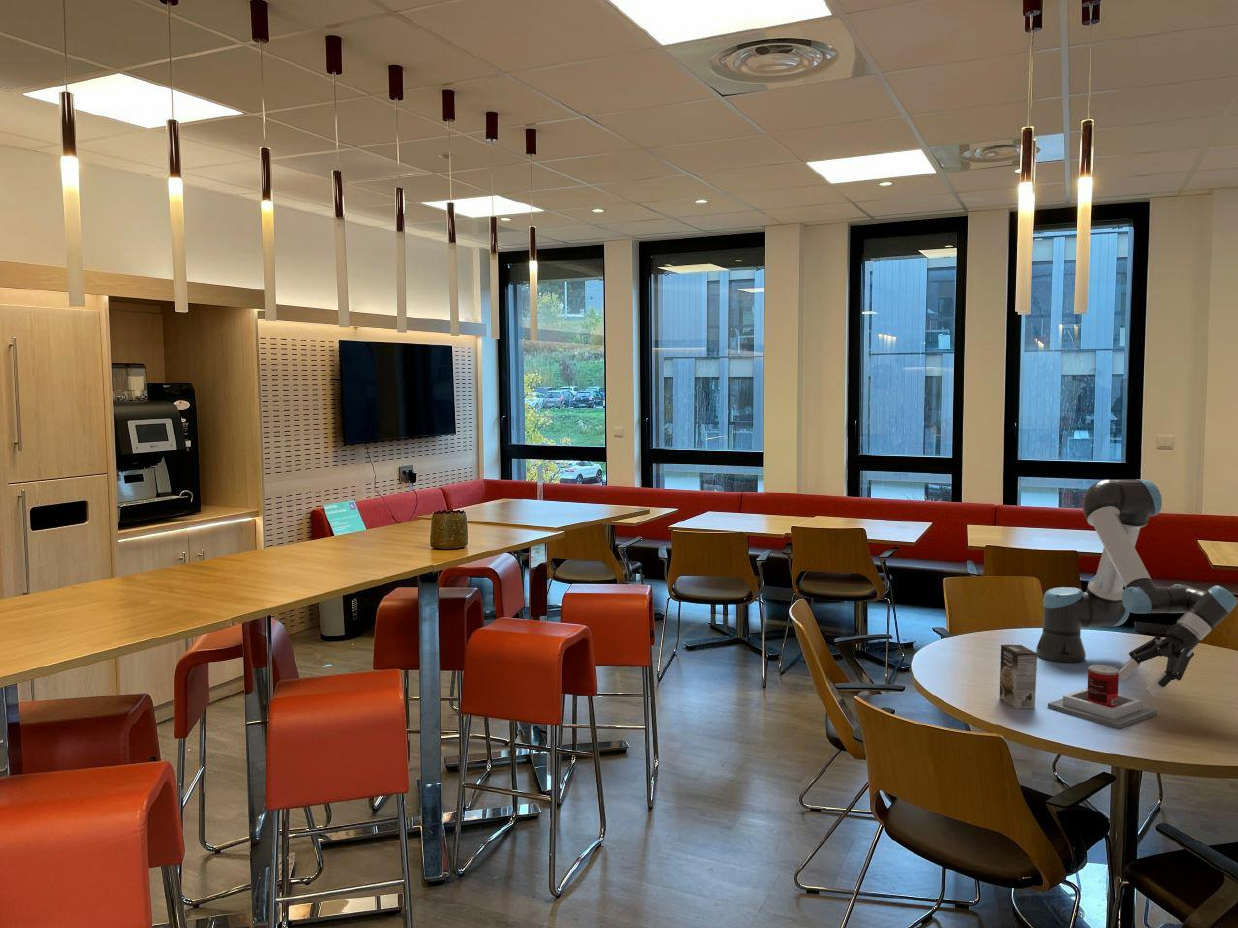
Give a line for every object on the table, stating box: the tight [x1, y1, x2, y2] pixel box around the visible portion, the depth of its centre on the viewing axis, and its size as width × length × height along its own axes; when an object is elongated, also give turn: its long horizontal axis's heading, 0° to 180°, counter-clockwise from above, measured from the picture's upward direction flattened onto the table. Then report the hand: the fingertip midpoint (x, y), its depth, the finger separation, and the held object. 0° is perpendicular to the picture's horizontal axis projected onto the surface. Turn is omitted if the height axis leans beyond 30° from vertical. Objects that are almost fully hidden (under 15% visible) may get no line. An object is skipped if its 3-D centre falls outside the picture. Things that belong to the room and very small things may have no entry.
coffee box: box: [999, 644, 1038, 709], centre depth 260 cm, size 9×6×16 cm
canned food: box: [1087, 664, 1120, 708], centre depth 254 cm, size 8×8×11 cm
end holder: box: [1047, 687, 1158, 730], centre depth 254 cm, size 20×20×4 cm
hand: (1134, 685), depth 255 cm, fingers open, 13 cm apart
